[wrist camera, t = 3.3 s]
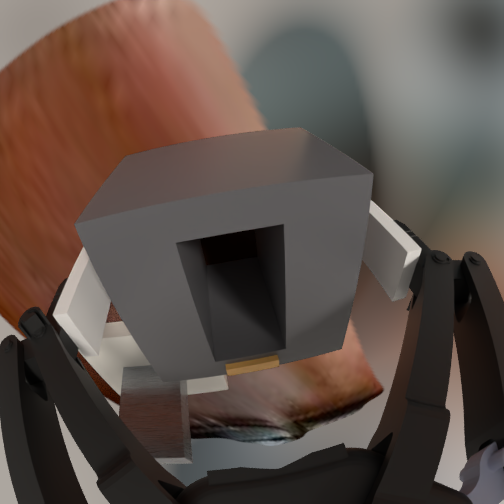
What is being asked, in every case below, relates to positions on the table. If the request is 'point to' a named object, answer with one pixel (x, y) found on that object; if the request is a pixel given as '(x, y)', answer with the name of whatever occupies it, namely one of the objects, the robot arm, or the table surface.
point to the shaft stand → (149, 396)
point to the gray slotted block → (234, 272)
